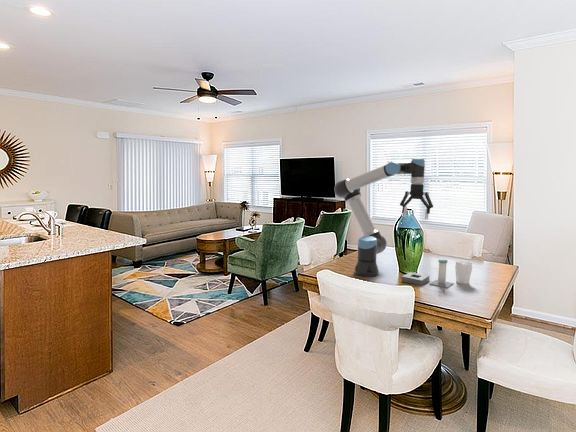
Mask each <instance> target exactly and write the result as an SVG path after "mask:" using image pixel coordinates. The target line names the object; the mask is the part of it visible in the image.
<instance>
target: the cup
mask: <svg viewBox="0 0 576 432" xmlns="http://www.w3.org/2000/svg"><path fill="white" fill-rule="evenodd" d="M454 267H455V268H454V269H455V280H456V283H458V284H461V285H469V283H470V280H471V275H472V271H473V262H469V261H465V260H458V261H455V266H454Z"/></svg>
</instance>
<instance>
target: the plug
mask: <svg viewBox="0 0 576 432" xmlns="http://www.w3.org/2000/svg"><path fill="white" fill-rule="evenodd" d="M447 263H448V260H447V259H444V258H439V259H438V273H437V274H438V275H437V280H438V284H445V282H446V278H447V277H446V276H447Z"/></svg>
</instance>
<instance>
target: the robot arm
mask: <svg viewBox="0 0 576 432" xmlns="http://www.w3.org/2000/svg"><path fill="white" fill-rule="evenodd" d="M425 162H426V161H425V159H424V158H417V157H416V158H411V161H393V160H392V161H389V162H387V164H385V165H382V166H379V167H377V168H375V169H372V170H370V171H367V172H363V174H360V175H357V176H354V177H352V178H350V179H349V178H345V179H343V180H340V181H338V182H336V183H335V185H334V188H333V189H334V194H335V195H336V196H337V197H338V198H340V199H341V198H343V200H344V201H345V203H347V204H349V205H348V206H350V208H351V211H352V212H353V215H354V217H355V220H356V221H357V223H358V225H359V227H360V230H361V232H362V233H363V236H361V237H359V238H358V241H357V262H356V263H355V264H356V265H355V268H354V274H355V275H358V276H361V277H368V278H369V277H376V276H378V275H379V273H380V271H379V267H378V264H377V255H378V254H380V253H382V252H384V250H386V248H387V244H388V241H387V239H386V238H385V236H383V235H382V234H381V232H380V231H379V230H378V229H376V227H375V225H374V223H373V222H372V218H371V217H370V215H369V213H368V210H367V209H366V207H365V205H364V203H363V201H362V199H361V197H362V192H361V188H364V187H366V186H369V185H371V184H374V183H376V182H379V181H381V180H384V179H386V178H389V177H392V176H395V175H410V191H408V190H407V191H405V193H404V196H403V198H402V199H401V201H400V203H399V206H401V207H402V213H403V218H407V217H406V214H408V207H407V206H408V204H410V202H411V201H412V200H420V201H421V202H422V204H423V205H424V206H425V209H424V211H425V213H424V220H429V214H430V213H431V209H432V208H434V204H433V202H432V200H431V197H430V194H429V193H430V192H429V191H426V192H424V187H425V186H424V183H425V166H426V165H425V164H426V163H425ZM409 195H410V196H409ZM424 197H425V198H424ZM407 198H408V199H407Z"/></svg>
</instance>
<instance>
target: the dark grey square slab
mask: <svg viewBox="0 0 576 432" xmlns="http://www.w3.org/2000/svg"><path fill="white" fill-rule="evenodd" d="M403 281H404V283H409V284H414V285H417V286H422V285H424V284H426V283H428V282H429V281H430V275H427V274H422V273H417V272H411V271H410V272H407V273H406V274H403V275H402V276H401V282H403Z"/></svg>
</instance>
